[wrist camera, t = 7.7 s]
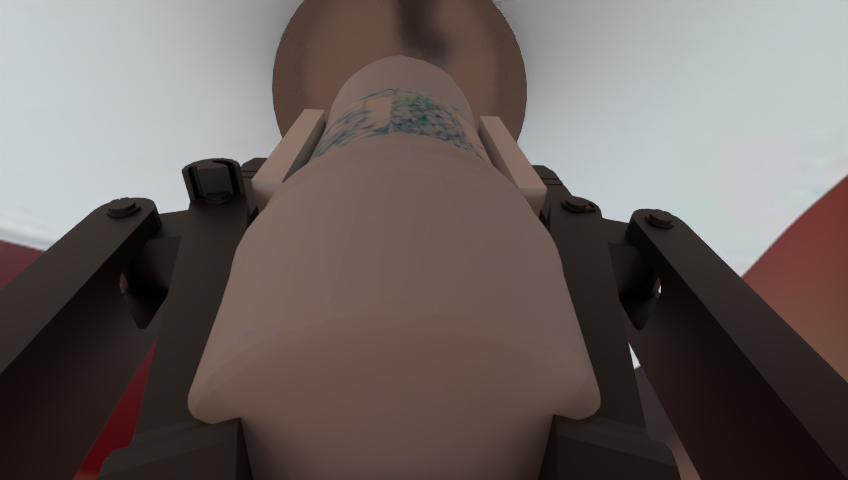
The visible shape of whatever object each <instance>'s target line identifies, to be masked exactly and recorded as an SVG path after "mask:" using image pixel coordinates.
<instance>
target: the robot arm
mask: <svg viewBox="0 0 848 480" xmlns="http://www.w3.org/2000/svg"><path fill="white" fill-rule="evenodd" d="M325 127H326V120H325V110H319V109H304V111H303V112H302V113H301V115H300V116H299V117H298V119H297V120H296V121H295V123H294V124H293V125H292V127H291V128H290V129H289V131H288V132H287V133H286V135H285V136H284V137H283V139H282V140H281V141H280V143H279V144H278V145H277V147H276V148H275V149H274V151H273V152H272V153H271V155H270V156H269V157H268V158H254V159H252V160H250V161H248V162H246V163H244V164H243V165H242V166H241V167H240V164H239V163H238V162H237V161H234V160H232V159H225V158H212V159H205V160H200V161H197V162H193V163H191V164H189V165H187V166H185V167H184V168H183V169H182V174H183V178H184V181H185V184H186V188H187V191H188V194H189V198H190V205H189V209H188V210H184V211H178V212H170V213H162V214H159V213H158V211H157V208H156V205H155V203H154V202H153V201H152V200H150V199H147V198H128V197H126V198H120V199H121V200H119V199H116V200H112V201H111V202H110V203H107V204H104V205H102V206H100V207H98V208H97V209H95V210H94V211H93V212H91V213H90V214H89V215H88V216H87V217H85V218H84V219H83V220H82V221H81V222H80V223H78V224H77V225H76V226H75V227H74V228H72V229H71V230H70V231H69V232H68V233H67V234H65V235H64V236H63V237H62V238H61V239H59V240H58V241H57V242H56V243H55V244H54V245H52V246H51V247H50V248H49V249H48V250H47V251H45V252H44V253H43V254H42V255H41V256H40V257H38V258H37V259H36V260H35V261H34V262H32V263H31V264H30V265H29V266H28V267H27V268H25V269H24V270H23V271H22V272H21V273H19V274H18V275H17V276H16V277H15V278H14V279H12V280H11V281H10V282H9V283H8V284H6V285H5V286H4V287H3V288H2V289H1V290H0V480H73V478H74V476H75V475H76V473H77V471H78V469H79V468H80V466H81V464H82V463H83V461H84V459H85V458H86V456H87V454H88V453H89V451H90V449H91V448H92V446H93V444H94V443H95V441H96V439H97V437H98V436H99V434H100V432H101V431H102V429H103V427H104V426H105V424H106V422H107V421H108V419H109V417H110V415H111V414H112V412H113V410H114V408H115V407H116V405H117V404H118V402H119V400H120V399H121V397H122V395H123V394H124V392H125V390H126V388H127V387H128V385H129V383H130V382H131V380H132V378H133V377H134V375H135V373H136V372H137V370H138V368H139V366H140V365H141V363H142V361H143V360H144V358H145V356H146V355H147V353H148V351H149V350H150V348H151V346H152V344H153V343H154V341H155V339H156V338H157V341H156V345H155V350H154V354H153V358H152V362H151V366H150V370H149V374H148V378H147V383H146V387H145V391H144V395H143V399H142V403H141V407H140V412H139V415H138V420H137V424H136V428H135V432H134V436H133V438H132V441H131V444H130V445H129V446H128V447H125V448H121V449H117V450H113V451H112V452H111V454H110V455H109V456H108V457H107V458H106V459H105V461H104V463H103V466H102V468H101V471H100V473H99V476H98V478H97V480H253V477H252V472H251V468H250V463H249V458H248V453H247V448H246V443H245V438H244V433H243V428H242V423H241V418H240V417H238V418H234V419H230V420H227V421H223V422H219V423H215V424H210V423H206V422H203V421H201V420H198V419H196V418H194V416H193V415H192V414H191V412H190V410H189V409H188V395H189V392H190V389H191V386H192V383H193V380H194V378H195V375H196V372H197V369H198V366H199V364H200V361H201V358H202V355H203V353H204V350H205V347H206V344H207V341H208V339H209V336H210V333H211V330H212V327H213V325H214V322H215V319H216V316H217V314H218V311H219V308H220V305H221V302H222V299H223V296H224V292H225V289H226V286H227V283H228V280H229V277H230V272H231V267H232V262H233V259H234V256H235V253H236V249H237V247H238V245H239V243H240V241H241V240H242V238H243V236H244V234H245V232H246V230H247V229H248V228H249V226H250V225H251V224H252V223H253V221H254V220H255V219H256V218H257V216H258V215H259V214H260V213H261V212H262V211H263V210H264V209H265V207H266V206H267V204H268V202H269V201H270V199H271V197H272V196H273V195H274V193H275V192H276V191H277V190H278V189H279V187H280V186H281V185H282V184H283V183H284V182H285V181H286V180H287V179H288V178H289V177H290V176H291V175H292V174H294V173H295V172H296V171H297V170H299V169H300V168H302V167H303V166H305V165H306V164H308V162H309V160H310V158H311V156H312V154H313V152H314V151H315V149H316V147H317V145H318V143H319V141H320V139H321V137H322V135H323V133H324V131H325ZM478 136H479V138H480V140H481V142H482V144H483V147H484V149H485V151H486V153H487V155H488V157H489V159H490V161H491V163H492V165H493V166H494V167H495V168H497V169H498V170H499V171H500V172H501V173H502V174H504V175H505V176H506V177H507V178H508V179H509V180H510V181H511V182H512V183H513V184H514V185H515V186H516V187H517V189H518V190H519V191H520V192H521V193H522V195H523V196H524V197H525V199H526V200H527V202H528V203H529V205H530V207H531V209H532V211H533V213H534V214H535V215H536V216H537V218H538V219H539V220H540V221H541V222H542V223H543V225H544V226H545V228H546V229H547V231H548V232H549V234H550V235H551V237H552V239H553V241H554V243H555V245H556V247H557V250H558V253H559V256H560V259H561V262H562V268H563V274H564V278H565V281H566V284H567V288H568V291H569V294H570V297H571V300H572V304H573V307H574V310H575V313H576V317H577V320H578V323H579V326H580V329H581V333H582V336H583V339H584V342H585V346H586V349H587V352H588V355H589V358H590V362H591V365H592V368H593V371H594V375H595V378H596V381H597V384H598V387H599V391H600V398H601V400H600V408H599V409H598V410H597V411H596V412H595V413H594V414H593V415H591V416H589V417H587V418H584V419H581V420H575V419H572V418H568V417H564V416H560V415H556V414H554V415H553V420H552V424H551V428H550V433H549V437H548V441H547V445H546V449H545V454H544V458H543V462H542V466H541V470H540V474H539V477H538V480H681V478H680V474H679V470H678V466H677V464H676V461H675V458H674V456H673V453H672V451H671V450H670V449H669V447H668V446H667V445H666V444H665V443H663V442H660V441H655V440H652V439H651V438H650V437H649V435H648V432H647V428H646V424H645V419H644V414H643V410H642V405H641V400H640V395H639V390H638V386H637V381H636V376H635V371H634V367H633V362H632V357H631V352H630V347H629V344H630V346H631V348H632V350H633V351H634V353H635V355H636V357H637V359H638V361H639V363H640V365H641V367H642V368H643V370H644V372H645V374H646V376H647V378H648V380H649V382H650V384H651V386H652V387H653V389H654V391H655V393H656V395H657V397H658V399H659V401H660V403H661V405H662V406H663V408H664V410H665V412H666V414H667V416H668V418H669V420H670V422H671V423H672V425H673V427H674V429H675V431H676V433H677V435H678V437H679V439H680V441H681V442H682V444H683V446H684V448H685V450H686V452H687V454H688V456H689V458H690V460H691V461H692V463H693V465H694V467H695V469H696V471H697V473H698V475H699V476H700V479H701V480H848V383H847V382H846V381H845V380H844V379H843V378H842V377H841V376H840V375H839V374H838V373H837V372H836V371H835V370H834V369H833V368H832V367H831V366H830V365H829V364H828V363H827V362H826V361H825V360H824V359H823V358H822V357H821V356H820V355H819V354H818V353H817V352H816V351H815V350H814V349H813V348H812V347H811V346H810V345H809V344H808V343H807V342H806V341H804V339H802V337H801V336H800V335H798V333H796V331H794V330H793V329H792V328H791V327H790V326H789V325H788V324H787V323H786V322H785V321H784V320H783V319H782V318H781V317H780V316H779V315H778V314H777V313H776V312H775V311H774V310H773V309H772V308H771V307H770V306H769V305H768V304H767V303H766V302H765V301H764V300H763V299H762V298H761V297H760V296H759V295H758V294H757V293H756V292H755V291H754V290H753V289H752V288H751V287H750V286H749V285H748V284H747V283H746V282H744V280H743V279H742V278H741V277H740V276H739V275H737V274H736V273H735V272H734V271H733V270H732V269H731V268H730V267H729V266H728V265H727V264H726V263H725V262H724V261H723V260H722V259H721V258H720V257H719V256H718V255H717V254H716V253H715V252H714V251H713V250H712V249H711V248H710V247H709V246H708V245H707V244H706V243H705V242H704V241H703V240H702V239H701V238H700V237H699V236H698V235H697V234H696V233H695V232H694V231H693V230H692V229H691V228H690V227H689V226H688V225H687V224H686V223H685V222H683V221H682V220H680V219H679V218H678V217H676V216H673V215H671V214H670V213H669V212H666V211H662V210H659V209H655V210H653V209H639V210H636V211H634V212H633V214H632V216H631V219H630V222H629V223H625V222H619V221H614V220H609V219H605V218H602V214H601V210H600V209H599V207H598V206H597V205H596V204H594V203H593V202H591V201H589V200H586V199H584V198H580V197H576V196H572V195H571V193H570V192H569V191H568V189H567V188H566V187H565V186H563V183H562V182H561V180H559V178H558V176H557V175H556V174H555V173H554V172H553V171H552V170H550V169H548V168H547V167H545V166H542V165H531V164H530V162H529V161H528V159H527V158H526V157H525V155H524V154H523V152H522V151H521V149H520V148H519V146H518V145H517V143H516V142H515V140H514V139H513V137H512V136H511V134H510V133H509V131H508V130H507V128H506V127H505V125H504V124H503V122H502V121H501V119H500V118H499V117H498V116H480V117H479V125H478ZM120 283H121V287H120ZM660 286H661V293H659V291H658V290H659V288H660ZM157 336H158V337H157ZM628 342H629V343H628Z"/></svg>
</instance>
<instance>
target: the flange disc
mask: <svg viewBox="0 0 848 480" xmlns="http://www.w3.org/2000/svg"><path fill="white" fill-rule="evenodd" d="M399 55H401V56H407V57H411V58H415V59H418V60H422V61H426V62H428V63H430V64H432V65H434V66H436V67H438V68H440V69H442V70H443V71H444V72H445V73H447V74H448V75H449V76H451V78H452V79H453V80H454V82H455V83H456V84H457V86H458V87H459V88H460V89H461V91H462V92H463V94H464V96H465V98H466V100H467V102H468V104H469V106H470V108H471V111H472V114H473V117H474V121H475V125H476V129H477V133H478V125H479V117H480V116H498V117H499V118H500V119H501V121H502V122H503V124H504V125H505V127H506V128H507V130H508V131H509V133H510V134H511V136H512V137H513V139H514V140H515V142H516V143H517V140H518V138H519V135H520V132H521V129H522V125H523V121H524V117H525V109H526V101H527V82H526V75H525V68H524V63H523V59H522V55H521V52H520V48H519V46H518V43H517V41H516V39H515V36H514V34H513V31H512V30H511V28H510V26H509V25H508V23H507V21H506V20H505V18H504V16H503V15H502V13H501V12H500V11H499V10H498V8H497V7H496V6H495V5H494V3H493V2H492V1H491V0H305V1H304V2H303V3H302V4H301V5H300V7H299V8H298V9H297V11H296V12H295V14H294V15H293V17H292V18H291V19H290V21H289V23H288V25H287V27H286V29H285V31H284V33H283V35H282V38H281V41H280V44H279V47H278V50H277V53H276V58H275V64H274V69H273V84H272V92H273V104H274V110H275V115H276V119H277V124H278V126H279V129H280V132H281V135H282V138H283V137H284V136H285V135H286V133H287V132H288V131H289V129H290V128H291V127H292V125H293V124H294V123H295V121H296V120H297V119H298V117H299V116H300V115H301V113H302V112H303V111H304V109H319V110H325V120H326V123H327V120H328V117H329V114H330V111H331V107H332V105H333V103H334V101H335V99H336V97H337V95H338V93H339V91H340V89H341V88H342V87H343V85H344V84H345V82H346V81H347V80H348V79H349V78H351V77H352V76H353V75H354V74H355V73H357V72H358V71H359V70H361V69H362V68H364V67H365V66H367V65H369V64H371V63H373V62H376V61H378V60H380V59H383V58H385V57H389V56H399Z"/></svg>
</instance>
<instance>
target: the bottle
mask: <svg viewBox="0 0 848 480" xmlns="http://www.w3.org/2000/svg"><path fill="white" fill-rule="evenodd" d="M600 400H601V398H600V391H599V387H598V384H597V381H596V378H595V375H594V371H593V368H592V365H591V362H590V358H589V355H588V352H587V349H586V346H585V342H584V339H583V336H582V333H581V329H580V326H579V323H578V320H577V317H576V313H575V310H574V307H573V304H572V300H571V297H570V294H569V291H568V288H567V284H566V281H565V278H564V274H563V268H562V262H561V259H560V256H559V253H558V250H557V247H556V245H555V243H554V241H553V239H552V237H551V235H550V234H549V232H548V231H547V229H546V228H545V226H544V225H543V223H542V222H541V221H540V220H539V219H538V218H537V216H536V215H535V214H534V213H533V211H532V209H531V207H530V205H529V203H528V202H527V200H526V199H525V197H524V196H523V195H522V193H521V192H520V191H519V190H518V189H517V187H516V186H515V185H514V184H513V183H512V182H511V181H510V180H509V179H508V178H507V177H506V176H505V175H504V174H502V173H501V172H500V171H499V170H498V169H497V168H495V167H494V166H493V165H492V163H491V161H490V159H489V157H488V155H487V153H486V151H485V149H484V147H483V144H482V142H481V140H480V138H479V136H478V133H477V129H476V125H475V121H474V117H473V114H472V111H471V108H470V106H469V104H468V102H467V100H466V98H465V96H464V94H463V92H462V91H461V89H460V88H459V87H458V86H457V84H456V83H455V82H454V80H453V79H452V78H451V76H449V75H448V74H447V73H445V72H444V71H443V70H442V69H440V68H438V67H436V66H434V65H432V64H430V63H428V62H426V61H422V60H418V59H415V58H411V57H407V56H401V55H399V56H389V57H385V58H383V59H380V60H378V61H376V62H373V63H371V64H369V65H367V66H365V67H364V68H362V69H361V70H359V71H358V72H357V73H355V74H354V75H353V76H352V77H351V78H349V79H348V80H347V81H346V82H345V84H344V85H343V87H342V88H341V89H340V91H339V93H338V95H337V97H336V99H335V101H334V103H333V105H332V107H331V111H330V114H329V117H328V120H327V123H326V127H325V131H324V133H323V135H322V137H321V139H320V141H319V143H318V145H317V147H316V149H315V151H314V152H313V154H312V156H311V158H310V160H309V162H308V164H306V165H305V166H303V167H302V168H300V169H299V170H297V171H296V172H295V173H294V174H292V175H291V176H290V177H289V178H288V179H287V180H286V181H285V182H284V183H283V184H282V185H281V186H280V187H279V189H278V190H277V191H276V192H275V193H274V195H273V196H272V197H271V199H270V201H269V202H268V204H267V206H266V207H265V209H264V210H263V211H262V212H261V213H260V214H259V215H258V216H257V218H256V219H255V220H254V221H253V223H252V224H251V225H250V226H249V228H248V229H247V230H246V232H245V234H244V236H243V238H242V240H241V241H240V243H239V245H238V247H237V249H236V253H235V256H234V259H233V262H232V267H231V272H230V277H229V280H228V283H227V286H226V289H225V292H224V296H223V299H222V302H221V305H220V308H219V311H218V314H217V316H216V319H215V322H214V325H213V327H212V330H211V333H210V336H209V339H208V341H207V344H206V347H205V350H204V353H203V355H202V358H201V361H200V364H199V366H198V369H197V372H196V375H195V378H194V380H193V383H192V386H191V389H190V392H189V395H188V409H189V410H190V412H191V414H192V415H193V416H194V418H196V419H198V420H201V421H203V422H206V423H210V424H215V423H219V422H223V421H227V420H230V419H234V418H238V417H240V418H241V423H242V428H243V433H244V438H245V443H246V448H247V453H248V458H249V463H250V468H251V472H252V477H253V480H538V477H539V474H540V470H541V466H542V462H543V458H544V454H545V449H546V445H547V441H548V437H549V433H550V428H551V424H552V420H553V415H554V414H556V415H560V416H564V417H568V418H572V419H575V420H581V419H584V418H587V417H589V416H591V415H593V414H594V413H595V412H596V411H597V410H598V409H599V408H600Z"/></svg>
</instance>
